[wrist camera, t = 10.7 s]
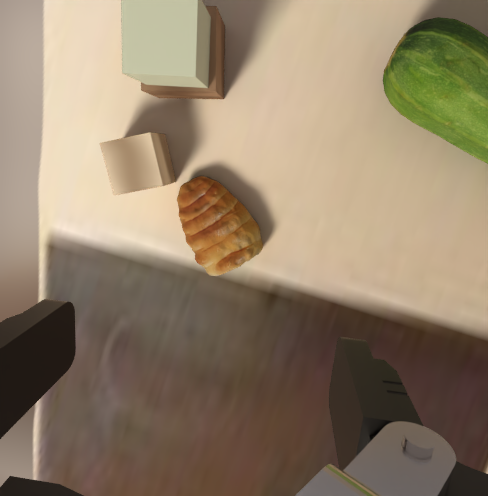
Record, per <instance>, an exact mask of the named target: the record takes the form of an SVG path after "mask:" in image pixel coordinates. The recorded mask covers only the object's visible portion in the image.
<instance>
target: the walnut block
mask: <svg viewBox="0 0 488 496" xmlns="http://www.w3.org/2000/svg"><path fill="white" fill-rule="evenodd" d="M205 7H206V9H207V11H208V13H209V15H210V17H211V27H210V55H209V82H208V88H198V87H179V86H161V85H146V84H144V83H142V82H141V90H142V91H144V92H146V93H149V94H151V95H153V96H156V97H158V98H189V99H224V54H225V25H224V23H223V21H222V18H221V16H220V14H219V11H218V9H217V7H216V6H205Z"/></svg>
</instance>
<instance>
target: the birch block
mask: <svg viewBox="0 0 488 496" xmlns="http://www.w3.org/2000/svg"><path fill="white" fill-rule="evenodd" d="M100 146H101V150H102V154H103V157H104V161H105V165H106V169H107V172H108V176H109V180H110V183H111V187H112V191H113V195H119V194H125V193H130V192H135V191H140V190H145V189H150V188H155V187H161V186H165V185H168V184H171V183H174V182H176V180H175V175H174V171H173V167H172V162H171V158H170V154H169V149H168V145H167V141H166V136H165V134H160V133H152V132H149V133H145V134H140V135H135V136H131V137H126V138H121V139H117V140H112V141H107V142H103V143H100Z"/></svg>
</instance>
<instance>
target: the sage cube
mask: <svg viewBox="0 0 488 496" xmlns="http://www.w3.org/2000/svg"><path fill="white" fill-rule="evenodd" d="M121 21H122V73H123V74H125V75H127V76H129V77H131V78H133V79H135V80H138V81H140V82H142V83H144V84H146V85H161V86H179V87H198V88H208V82H209V55H210V27H211V17H210V15H209V13H208V11H207V9H206V7H205V5H204V3H203V1H202V0H121Z"/></svg>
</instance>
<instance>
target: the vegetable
mask: <svg viewBox="0 0 488 496" xmlns="http://www.w3.org/2000/svg"><path fill="white" fill-rule="evenodd" d="M383 84H384V90H385V94H386V96H387V97H388V99H389V101H390V103H391V105H392V106H393V107H394V108H395V109H396V110H397V111H398V112H399V113H400V114H401V115H403V116H404V117H406V118H407V119H409V120H410V121H412V122H413V123H415V124H417V125H419V126H421V127H423V128H424V129H426V130H428V131H430V132H432V133H434V134H436V135H438V136H440V137H441V138H443V139H445V140H446V141H448V142H450V143H451V144H453V145H455V146H456V147H458V148H460V149H462V150H463V151H465V152H467V153H469V154H470V155H472V156H474V157H476V158H478V159H480V160H482V161H484V162H486V163H488V37H487V36H485V35H484V34H482V33H481V32H479V31H478V30H476V29H475V28H473V27H472V26H470V25H467V24H465V23H462V22H460V21H458V20H455V19H448V18H439V17H438V18H433V19H429V20H425V21H422V22H421V23H419V24H417V25H415V26H414V27H412V28H411V29H409V30H408V31H407V32H406V33H405V34H404V36H403V37H402V39H401V40H400V41H399V43H398V44H397V46H396V48H395V49H394V51H393V53H392V55H391V57H390V59H389V62H388V64H387V66H386V68H385V70H384V76H383Z"/></svg>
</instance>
